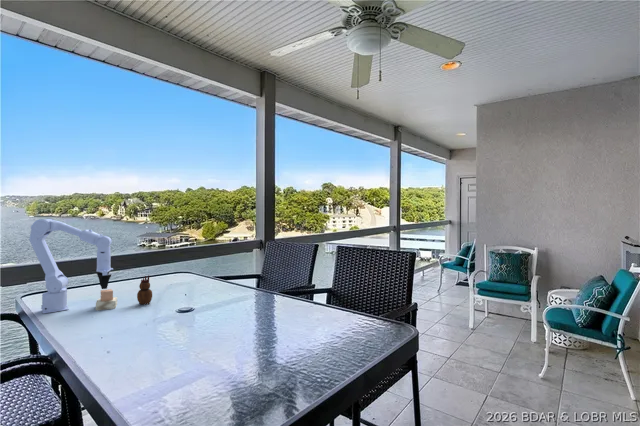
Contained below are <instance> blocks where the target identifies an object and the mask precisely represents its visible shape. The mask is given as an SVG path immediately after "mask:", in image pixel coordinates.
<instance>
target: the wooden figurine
mask: <svg viewBox="0 0 640 426" xmlns="http://www.w3.org/2000/svg"><path fill="white" fill-rule="evenodd" d="M138 287H139V290H138V291H137V294H136V297H137V302H138V304H139V305H142V306H143V305H145V306H146V305H150V303H151V302H152V299H153V290H151V289H150V288H151V283H150V274H147V275H145V276H144V277H143V278H142V279H141V280H140V283H139V286H138Z"/></svg>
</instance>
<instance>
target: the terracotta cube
mask: <svg viewBox="0 0 640 426" xmlns="http://www.w3.org/2000/svg"><path fill="white" fill-rule="evenodd" d="M113 297H114V290H113V289H112V288H110V289H108V288H107V289H101V290H100V298H101V301H109V300H113Z"/></svg>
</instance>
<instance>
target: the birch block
mask: <svg viewBox="0 0 640 426" xmlns="http://www.w3.org/2000/svg"><path fill="white" fill-rule="evenodd" d="M117 306H118V296H113V300H109V301H101V297H99V298H97V300H96V302H95V311H104V310H113V309H114V310H115V309H116V308H117Z"/></svg>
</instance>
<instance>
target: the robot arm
mask: <svg viewBox="0 0 640 426" xmlns="http://www.w3.org/2000/svg"><path fill="white" fill-rule="evenodd" d="M55 231H56V232H57V231H62V232H63V233H67V234H70V235H74V236H77V237H79V240H80V241H82V242H85V243H88V244H90V245H93V246H96V249H97V251H96V273H95V274H96V276H97V277H98V280H99V286H100V287H101V290H108V286H109V282H110V279H111V277H112V274H110V272H111V271H114V268H113V267H111V260H112V259H111V255H112V254H111V253H112V251H111V245H112V243H113V242H112V241H113V239H112V238H111V237H110V236H108V235H104V234H103V233H99V232H98V233H97V232H95V231H93V229H83V230H81V229H80V228H78V227H75V226H73V225H70V224H68V223H65V222H63V221H60V220H56V219H55V220H54V219H53V218H44V219H43V218H40V219H36V220H35V221H34V222H33V223H32V224H31V226H30V233H29V243H30V245H31V247H32V249H33V251H34V254H35V256H36V257H37V260H38V261H39V264H40V266H41V267H42V270H43V272H44V274H45V275H44V281H45V289H46V290H47V291H46V292H43V293H42V294H41V295H42V297H41V301H42V302H41V303H42V304H41V308H40V309H41V310H42V312H41V313H42V314H47V313H48V314H50V313H55V312H56V313H57V312H62V311H63V312H64V311H68V310H69V305H68V288H67V287H68V285H69V278H68V277H67V276H65V274H64V273H63V272H62V271H61V270H60V269H59V267H58V265H57V263H56V260H55V258H54V256H53V255H52V252H51V250H50V248H49V246H48V244H47V241H46V239H47V238H48V236H49V235H50V234H51V233H52V232H55Z"/></svg>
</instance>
